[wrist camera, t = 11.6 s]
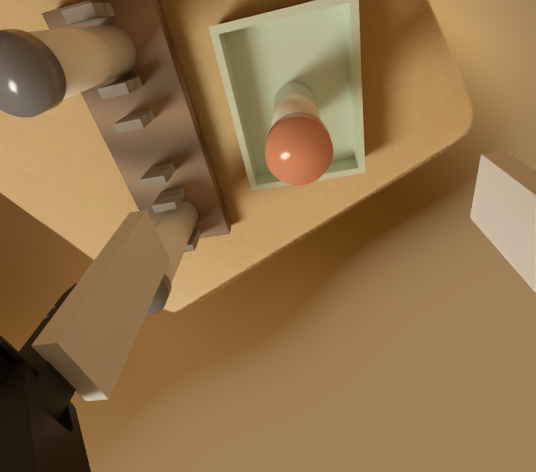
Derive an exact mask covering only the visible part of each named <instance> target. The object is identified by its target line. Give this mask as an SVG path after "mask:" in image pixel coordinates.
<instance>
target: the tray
mask: <svg viewBox="0 0 536 472" xmlns="http://www.w3.org/2000/svg"><path fill="white" fill-rule="evenodd" d="M209 30H210V34H211V38H212V42H213V46H214V50H215V53H216V57H217V61H218V65H219V69H220V73H221V77H222V80H223V84H224V88H225V92H226V96H227V100H228V103H229V107H230V111H231V115H232V119H233V123H234V127H235V130H236V134H237V138H238V142H239V146H240V150H241V154H242V157H243V161H244V165H245V169H246V173H247V177H248V181H249V184H250V188H251V192H253V191H259V190H265V189H271V188H277V187H283V186H289V185H291V184H287V183H285V182H282V181H281V180H279V179H278V178H276V177H275V176H274V175H273V174H272V172H271V171H270V169H269V168H268V165H267V163H266V158H265V149H266V142H267V137H268V133H269V131H270V129H271V126H272V117H273V108H274V100H275V96H276V93H277V92H278V90H279V89H280V88H281V87H282V86H283V85H285V84H287V83H289V82H301V83H303V84H305V85H306V86H307V87H308V88H309V89H310V90H311V92H312V94H313V97H314V100H315V103H316V106H317V109H318V112H319V115H320V119H321V121H322V122H323V123H324V125H325V126H326V128H327V130H328V132H329V135H330V138H331V141H332V144H333V158H332V162H331V164H330V166H329V168H328V170H327V171H326V172H325V173H324V174H323V175H322V176H321V177H320V178H319V179H317V180H316V181H319V180H325V179H331V178H337V177H343V176H349V175H355V174H362V173H365V153H364V126H363V100H362V73H361V46H360V20H359V0H315V1H311V2H307V3H303V4H299V5H295V6H291V7H287V8H283V9H279V10H275V11H271V12H266V13H262V14H258V15H254V16H250V17H246V18H242V19H238V20H234V21H230V22H226V23H222V24H218V25H214V26H210V27H209Z"/></svg>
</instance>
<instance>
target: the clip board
mask: <svg viewBox="0 0 536 472" xmlns="http://www.w3.org/2000/svg"><path fill="white" fill-rule="evenodd" d="M42 15H43V17H44V19H45V21H46V23H47V25H48V27H49V29H50V30H55V29H65V28H75V27H86V26H96V25H106V24H110V25H114V26H117V27H119V28H121V29H122V30H123V31H125V32H126V33H127V34H128V36H129V37H130V38H131V40H132V42H133V44H134V46H135V50H136V62H135V65H134V67H133V68H132V70H131V71H129V72H128V73H126V74H123V75H121V76H118V77H116V78H114V79H111V80H109V81H106V82H104V83H102V84H99V85H97V86H94V87H92V88H90V89H87V90H85V91H82V92H81V94H82V96H83V98H84V100H85V102H86V104H87V106H88V108H89V110H90V112H91V114H92V116H93V118H94V120H95V122H96V124H97V126H98V128H99V130H100V132H101V134H102V136H103V138H104V140H105V142H106V144H107V146H108V148H109V150H110V152H111V154H112V156H113V158H114V160H115V162H116V164H117V166H118V168H119V170H120V172H121V174H122V177H123V179H124V181H125V183H126V185H127V187H128V189H129V191H130V193H131V195H132V197H133V199H134V201H135V203H136V205H137V207H138V209H139V211H142V210H147V212H148V214H149V216H150V218H151V220H152V222H153V224H154V226H155V224H156V223H157V221H158V219H159V218H160V216H161V214H162V212H163V211H168V210H174V209H178V207H179V205H180V203H181V201H182V200H185V201H188V202H189V203H191V204H192V205H193V206H194V207H195V208H196V210H197V213H198V219H197V222H196V224H195V227H194V229H193V232H192V234H191V236H190V239H189V241H188V244H187V246H186V249H185V251H184V252H187V251H194V250H195V248H196V245H197V243H198V240H199V238H205V237H211V236H218V235H225V234H230V230H231V224H230V221H229V218H228V215H227V212H226V209H225V206H224V202H223V199H222V196H221V193H220V190H219V187H218V184H217V181H216V177H215V174H214V171H213V168H212V165H211V162H210V159H209V156H208V152H207V149H206V146H205V143H204V140H203V137H202V134H201V131H200V127H199V124H198V121H197V118H196V115H195V112H194V109H193V106H192V103H191V99H190V96H189V93H188V90H187V87H186V84H185V81H184V78H183V74H182V71H181V68H180V65H179V62H178V59H177V56H176V53H175V49H174V46H173V43H172V40H171V37H170V34H169V31H168V28H167V24H166V21H165V18H164V15H163V12H162V9H161V6H160V3H159V0H88V1H84V2H81V3H77V4H73V5H70V6H66V7H63V8H59V9H55V10H52V11H48V12H45V13H42Z"/></svg>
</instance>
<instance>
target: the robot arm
mask: <svg viewBox="0 0 536 472" xmlns="http://www.w3.org/2000/svg"><path fill="white" fill-rule="evenodd" d="M470 218H471V219H472V220H473V222H474V223H475V224H476V225H477V226H478V227H479V228H480V230H481V231H482V232H483V233H484V234H485V235H486V236H487V237H488V239H489V240H490V241H491V242H492V243H493V244H494V246H495V247H496V248H497V249H498V250H499V251H500V252H501V253H502V255H503V256H504V257H505V258H506V259H507V260H508V262H509V263H510V264H511V265H512V266H513V267H514V268H515V269H516V271H517V272H518V273H519V274H520V275H521V276H522V278H523V279H524V280H525V281H526V282H527V283H528V284H529V286H530V287H531V288H532V289H533V290H534V291H535V292H536V171H535V170H533V169H532V168H530V167H529V166H527V165H526V164H524V163H523V162H521V161H520V160H518V159H517V158H515V157H514V156H512V155H510V154H509V153H508V152H506V151H497V152H492V153H485V154H481V159H480V165H479V170H478V176H477V182H476V187H475V193H474V199H473V204H472V210H471V216H470ZM170 260H171V259H170V257H169V255H168V253H167V251H166V249H165V247H164V245H163V243H162V241H161V239H160V237H159V235H158V232H157V230H156V228H155V226H154V224H153V222H152V220H151V218H150V216H149V214H148V212H147V210H142V211H136V212H130V213H129V214H128V216H127V217H126V218H125V220H124V221H123V222H122V224H121V225H120V227H119V228H118V229H117V231H116V232H115V233H114V235H113V236H112V237H111V239H110V240H109V241H108V243H107V244H106V245H105V247H104V248H103V249H102V251H101V252H100V254H99V255H98V256H97V258H96V259H95V260H94V262H93V263H92V265H91V266H90V267H89V268H88V270H87V271H86V272H85V274H84V275H83V276H82V278H81V279H80V281H79V282H78V283H76V284H74V285H73V286H72V287H71V288H70V289H69V290H67V291H66V292H65V293H64V294H63V295H62V296H61V298H60V299H59V300H58V301H57V303H56V304H55V305H54V309H51V311H50V312H49V313H48V314H47V316H46V319H44V320H43V321H42V322H41V324H40V325H39V326H38V328H37V329H36V330H35V331H34V333H33V334H32V335H31V337H30V338H29V339H28V341H27V342H26V343H25V345H24V346H23V347H22V349H21V350H20V351H19V352H18V351H17V350H16V349H15V348H14V347H13V346H12V345H11V344H9V343H8V342H7V341H6V340H5V339H4V338H3V337H2V336H0V472H91V470H90V466H89V462H88V458H87V454H86V449H85V445H84V441H83V437H82V433H81V429H80V425H79V421H78V417H77V413H76V409H75V407H74V406H73V404H72V403H71V402H70V400H71V398H72V396H73V394H74V392H75V391H77V392H78V393H79V394H80V395H81V396H82V397H83V398H84V399H85V400H86V401H92V400H105V399H109V397H110V395H111V393H112V390H113V388H114V386H115V384H116V381H117V379H118V377H119V375H120V372H121V370H122V368H123V365H124V363H125V361H126V359H127V357H128V354H129V352H130V350H131V348H132V345H133V343H134V341H135V339H136V336H137V334H138V332H139V330H140V327H141V325H142V323H143V321H144V318H145V316H146V314H147V312H148V309H149V307H150V305H151V303H152V300H153V298H154V296H155V294H156V291H157V289H158V287H159V285H160V282H161V280H162V278H163V276H164V273H165V271H166V269H167V267H168V264H169V262H170Z"/></svg>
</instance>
